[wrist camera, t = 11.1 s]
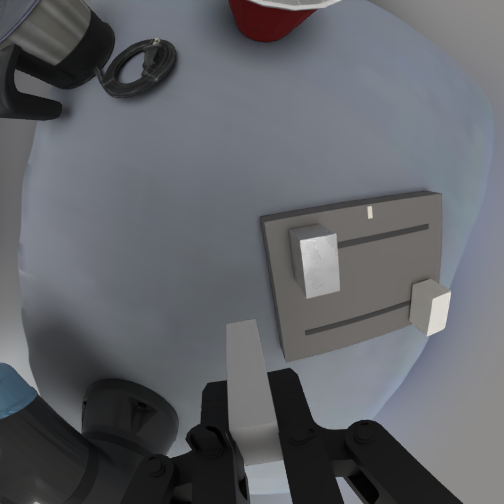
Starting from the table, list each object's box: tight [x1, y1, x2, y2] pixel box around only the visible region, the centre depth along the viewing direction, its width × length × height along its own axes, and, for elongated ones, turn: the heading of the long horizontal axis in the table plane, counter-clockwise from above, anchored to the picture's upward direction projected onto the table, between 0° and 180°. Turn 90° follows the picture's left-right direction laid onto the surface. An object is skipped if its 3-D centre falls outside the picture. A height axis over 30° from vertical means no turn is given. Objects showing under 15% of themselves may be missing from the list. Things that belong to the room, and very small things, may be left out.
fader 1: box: [288, 224, 340, 299], centre depth 24 cm, size 3×5×4 cm, turn 10°
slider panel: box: [260, 191, 442, 362], centre depth 29 cm, size 21×16×3 cm
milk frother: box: [0, 0, 176, 121], centre depth 14 cm, size 14×16×15 cm
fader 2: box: [409, 279, 451, 337], centre depth 27 cm, size 3×5×4 cm, turn 10°
